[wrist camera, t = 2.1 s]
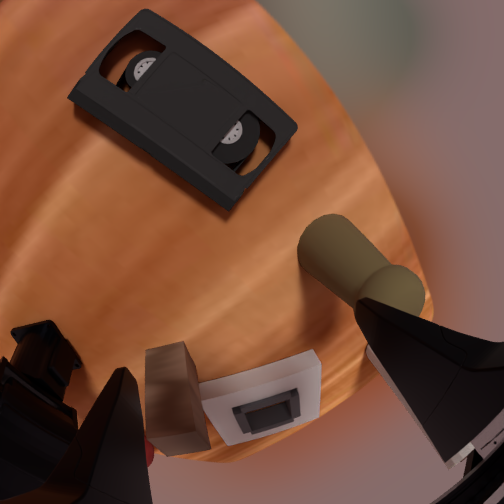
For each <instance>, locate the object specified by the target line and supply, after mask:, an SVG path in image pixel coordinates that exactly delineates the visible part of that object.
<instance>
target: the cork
mask: <svg viewBox="0 0 504 504" xmlns="http://www.w3.org/2000/svg"><path fill="white" fill-rule="evenodd" d="M297 248H298V259H299V262H300V264H301V266H302V267H303V268H304V269H305V270H306V271H307V272H308V273H310V274H311V275H312V276H313V277H315V278H316V279H317V280H318V281H320V282H321V283H322V284H323V285H325V286H326V287H327V288H328V289H330V290H331V291H332V292H333V293H335V294H336V295H337V296H338V297H340V298H341V299H342V300H343V301H345V302H346V303H347V304H348V305H349V306H351V307H352V308H353V311H354V316H355V308H356V301H357V300H358V299H361V298H363V297H368V298H371V299H373V300H376V301H379V302H381V303H384V304H386V305H389V306H391V307H394V308H397V309H399V310H402V311H404V312H407V313H409V314H412V315H415V316H417V317H419V315H420V313H421V311H422V309H423V306H424V302H425V290H424V287H423V284H422V281H421V280H420V278H419V277H418V276H417V275H416V274H415V273H413V272H412V271H411V270H409V269H408V268H406V267H404V266H401V265H392V264H391V263H390V262H389V261H388V260H387V259H386V258H385V257H384V256H383V255H382V253H381V252H380V251H379V250H378V249H377V248H376V247H375V246H374V245H373V244H372V243H371V242H370V241H369V240H368V239H367V238H366V237H365V236H364V235H363V234H362V233H361V232H360V231H359V230H358V229H357V228H356V227H355V226H354V225H353V224H352V223H351V222H350V221H349V220H348V219H347V218H345V217H344V216H342V215H337V214H328V215H323V216H321V217H319V218H318V219H316V220H314V221H313V222H312V223H311V224H310V225H309V226H308V227H306V229H305V231H304V232H303V234H302V235H301V237H300V240H299V244H298V247H297Z"/></svg>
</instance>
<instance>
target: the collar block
mask: <svg viewBox="0 0 504 504" xmlns="http://www.w3.org/2000/svg"><path fill="white" fill-rule="evenodd" d="M198 384H199V390H200V395H201V401H202V406H203V410H204V412H205V413H206V415H207V416H208V418H209V419H210V421H211V422H212V424H213V425H214V427H215V428H216V430H217V431H218V433H219V434H220V436H221V437H222V439H223V440H224V441H225V443H226V444H227V446H231V445H235V444H239V443H243V442H247V441H250V440H254V439H257V438H261V437H264V436H268V435H271V434H274V433H277V432H280V431H283V430H286V429H289V428H292V427H295V426H298V425H301V424H303V423H306V422H309V421H311V420H314V419H316V418H319V411H320V392H321V362H320V360H319V359H318V357H317V355H316V354H315V352H314V350H313V349H311V350H308V351H305V352H303V353H300V354H297V355H294V356H291V357H288V358H285V359H282V360H279V361H276V362H273V363H270V364H267V365H264V366H261V367H257V368H254V369H251V370H247V371H244V372H240V373H237V374H233V375H230V376H226V377H222V378H218V379H215V380H211V381H207V382H202V383H198ZM282 401H285V402H283V403H280V404H277V405H274V406H271V407H268V408H265V409H261V410H258V411H255V412H251V413H248V414H246V413H247V412H250V411H254V410H257V409H260V408H264V407H267V406H270V405H273V404H276V403H279V402H282Z"/></svg>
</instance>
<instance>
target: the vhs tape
mask: <svg viewBox="0 0 504 504" xmlns="http://www.w3.org/2000/svg"><path fill="white" fill-rule="evenodd" d="M134 30H141V31H142V32H144V33H146V34H147V35H149V36H151V37H152V38H154V39H155V40H157V41H158V42H160V43H161V44H163V45H165V46H166V49H165V50H164V51H163V52H162V53H160V52H157V51H145V52H142V53H140V54H138V55H136V56H135V57H134V58H132V59H131V60H130V62H129V64H128V65H127V67H126V69H125V71H124V72H123V74H122V76H121V77H120V79H119V81H118V82H117V84H116V85H114V84H113V83H111V82H110V81H108V80H107V79H105V78H104V77H102V76H101V75H100V74H99V68H100V65H101V63H102V61H103V59H104V58H105V57H106V56H107V55H108V53H109V52H110V51H111V50H112V49H113V48H114V47H115V45H116V44H117V43H118V42H119V41H120V40H121V39H122V38H123V37H124V36H125V35H127V34H128V33H130V32H132V31H134ZM85 73H86V74H85V75H84V76H83V77H82V78H81V79H80V80H79V81H78V82H77V84H76V85H75V87H74V88H73V90H72V91H71V92H70V94H69V95H68V97H67V98H68V99H69V100H71V101H72V102H74V103H75V104H77V105H78V106H80V107H81V108H83V109H84V110H86V111H87V112H89V113H90V114H92V115H93V116H94V117H96V118H97V119H99V120H100V121H102V122H103V123H105V124H106V125H108V126H109V127H111V128H112V129H113V130H115V131H116V132H118V133H119V134H121V135H122V136H124V137H125V138H126V139H128V140H129V141H131V142H132V143H134V144H135V145H136V146H138V147H139V148H141V149H143V150H144V151H146V152H147V153H149V154H150V155H151V156H152V157H154V158H155V159H156V160H158V161H159V162H161V163H162V164H163V165H165V166H166V167H168V168H169V169H171V170H172V171H173V172H175V173H176V174H178V175H179V176H180V177H182V178H183V179H185V180H186V181H187V182H189V183H190V184H191V185H193V186H194V187H196V188H197V189H198V190H200V191H201V192H203V193H204V194H205V195H207V196H208V197H209V198H211V199H212V200H214V201H215V202H216V203H218V204H219V205H220V206H222V207H223V208H225V209H226V210H227V211H230V209H231V208H232V207H233V206H234V204H235V203H236V202H237V201H238V200H239V198H240V197H241V195H242V194H243V192H244V189H245V188H248V187H249V186H250V185H251V184H252V182H253V181H254V180H255V179H256V178H257V176H258V175H259V174H260V173H261V172H262V170H263V169H264V168H265V167H266V166H267V165H268V163H269V162H270V161H271V160H272V159H273V158H274V156H275V155H276V154H277V153H278V152H279V151H280V149H281V148H282V147H283V146H284V145H285V144H286V143H287V141H288V140H289V139H290V138H291V137H292V136H293V135H294V133H295V132H296V131H297V129H298V126H297V123H296V122H295V121H294V120H293V119H292V118H290V117H289V116H288V115H287V114H286V113H285V112H284V111H283V110H282V109H281V108H280V107H279V106H278V105H277V104H276V103H274V102H273V101H272V100H271V99H270V98H269V97H268V96H267V95H266V94H264V93H263V92H262V91H261V90H260V89H259V88H258V87H256V86H255V85H254V84H253V83H252V82H251V81H249V80H248V79H247V78H246V77H245V76H243V75H242V74H241V73H240V72H238V71H237V70H236V69H235V68H233V67H232V66H231V65H230V64H228V63H227V62H226V61H225V60H223V59H222V58H221V57H219V56H218V55H217V54H215V53H214V52H213V51H211V50H210V49H209V48H207V47H206V46H205V45H203V44H202V43H200V42H199V41H198V40H196V39H195V38H193V37H192V36H190V35H189V34H187V33H186V32H184V31H183V30H181V29H180V28H178V27H177V26H175V25H174V24H172V23H171V22H169V21H167V20H166V19H164V18H163V17H161V16H159V15H158V14H156V13H154V12H153V11H151V10H149V9H142V10H141V11H139V12H138V13H137V14H136V15H135V16H134V17H133V18H132V19H131V20H130V21H129V22H128V23H127V24H126V25H125V26H124V27H123V28H122V29H121V30H120V32H119V33H118V34H117V35H116V36H115V37H114V38H113V39H112V40H111V41H110V43H109V44H108V45H107V46H106V47H105V48H104V49H103V51H102V52H101V53H100V54H99V55H98V57H97V58H96V59H95V60H94V62H93V63H92V64H91V65H90V67H89V68H88V69H87V71H86V72H85ZM125 77H126V81H127V83H128V84H129V86H131V87H132V88H131V89H130V90H129V91H128V92H125V91H123V90H122V89H120V88H119V86H120V85H121V83H122V81H123V80H124V78H125ZM257 117H258V118H260V119H261V120H262V121H263V122H264V123H265V124H266V125H267V126H269V127H270V128H271V129H272V130H273V131H274V132H275V134H276V138H275V142H274V145H273V147H272V149H271V152H270V153H269V154H268V155H267V156H266V157H265V159H264V160H263V161H262V162H261V163H260V164H259V166H258V167H257V168H256V169H254V170H253V171H251V172H250V173H248V174H246V175H244V176H241V175H238V174H236V173H235V171H236V170H237V169H238V167H239V166H240V165H241V164H242V163H243V161H244V160H245V159H246V158H247V157H248V155H249V154H250V153H251V152H252V151H253V150H254V148H255V146H256V145H257V143H258V140H259V136H260V125H259V122H258V118H257ZM233 162H237V164H236V165H235V166H234V167H233V168H232V170H231V169H230V168H229V167H227V166H226V165H225V164H229V163H233ZM224 163H225V164H224Z"/></svg>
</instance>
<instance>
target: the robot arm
mask: <svg viewBox="0 0 504 504" xmlns="http://www.w3.org/2000/svg"><path fill="white" fill-rule="evenodd" d="M355 319H356V322H357V324H358V325H359V327H360V329H361V331H362V333H363V335H364V336H365V338H366V340H367V342H368V344H369V346H370V348H371V349H372V351H373V353H374V354H375V356H376V357H377V358H378V360H379V361H380V363H381V364H382V366H383V367H384V369H385V370H386V372H387V373H388V375H389V376H390V378H391V379H392V381H393V382H394V384H395V385H396V387H397V388H398V390H399V391H400V393H401V394H402V396H403V397H404V399H405V400H406V402H407V403H408V405H409V406H410V408H411V409H412V411H413V413H414V414H415V416H416V417H417V419H418V420H419V422H420V424H421V425H422V427H423V429H424V430H425V432H426V433H427V435H428V437H429V438H430V440H431V441H432V443H433V445H434V446H435V448H436V450H437V451H438V453H439V455H440V456H441V458H442V460H443V461H444V462H445V463H446V462H447V461H448V460H449V459H451V458H452V457H453V456H454V455H456V454H457V453H458V452H459V451H460V450H462V449H463V448H464V447H465V446H466V445H467V444H469V443H470V442H471V444H472V445H473V446H474V449H473V450H472V451H471V452H470V453H469V454H468V456H467V462H466V467H465V471H464V476H463V479H461V480H460V481H459V482H458V483H457V484H455V485H454V486H453V487H452V488H450V489H449V490H448V491H447V492H445V493H444V494H443V495H441V496H440V497H439V498H437V499H436V500H435V501H433V502H432V503H430V504H504V342H491V341H487V340H483V339H480V338H477V337H473V336H469V335H466V334H463V333H460V332H456V331H454V330H451V329H448V328H445V327H443V326H439V325H438V324H435V323H433V322H430V321H428V320H425V319H422V318H420V317H417V316H415V315H412V314H409V313H407V312H404V311H402V310H399V309H397V308H394V307H391V306H389V305H386V304H384V303H381V302H379V301H376V300H373V299H371V298H368V297H363V298H361V299H358V300H357V301H356V308H355ZM49 325H50V326H49ZM11 335H12V337H13V338H14V339H15V341H16V342H17V344H18V345H17V347H16V349H15V351H14V353H13V356H12V358H11V360H10V363H9V362H8V360H7V359H6V358H5V357H4V356H3V357H2V358H1V359H0V504H153V503H152V497H151V490H150V485H149V484H150V483H149V476H148V468H147V460H146V450H145V439H144V426H143V416H142V410H141V404H140V398H139V391H138V385H137V381H136V379H135V378H134V377H133V375H132V374H131V372H130V371H129V370H128V368H126V367H121V368H117V369H115V371H114V372H113V374H112V375H111V377H110V379H109V380H108V382H107V383H106V385H105V387H104V388H103V390H102V392H101V393H100V395H99V396H98V398H97V400H96V401H95V403H94V405H93V406H92V408H91V410H90V411H89V413H88V415H87V416H86V418H85V420H84V422H83V423H82V425H81V427H80V428H79V430H78V422H77V411H76V409H74V408H72V407H69V406H68V405H66V404H65V403H63V399H64V394H65V389H66V386H68V385H69V381H70V377H71V373H72V370H73V369H79V368H81V365H82V363H81V362H80V360H79V359H78V358H77V356H76V355H75V353H74V352H73V351H72V349H71V348H70V347H69V345H68V344H67V342H66V341H65V339H64V338H63V336H62V335H61V333H60V332H59V330H58V329H57V327H56V326H55V324H54V323H53V322H52V321H51V320H46V321H42V322H37V323H33V324H29V325H25V326H21V327H17V328H13V329H12V330H11Z"/></svg>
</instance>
